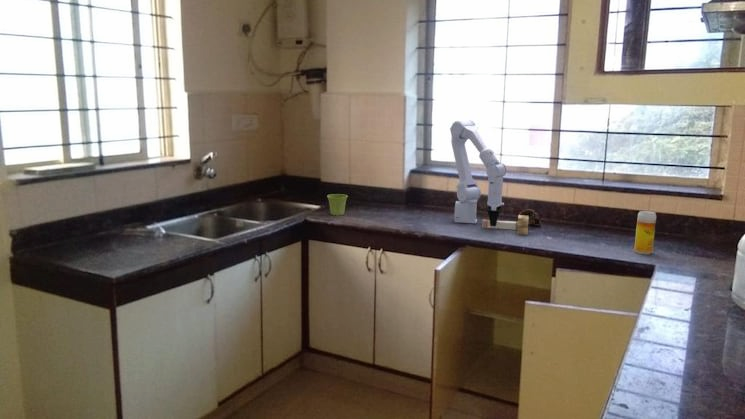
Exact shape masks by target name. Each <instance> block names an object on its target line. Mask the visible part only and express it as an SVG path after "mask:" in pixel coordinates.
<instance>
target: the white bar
mask: <svg viewBox="0 0 745 419" xmlns="http://www.w3.org/2000/svg"><path fill="white" fill-rule="evenodd" d="M481 227H482V228H484V229H485V228H487V229H498V228H499V230H501V229H502V230H514V231H515V230H516V231H517V229H518V221H510V220H497V223H496V226H490V219H482V224H481Z"/></svg>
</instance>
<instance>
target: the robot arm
mask: <svg viewBox="0 0 745 419" xmlns="http://www.w3.org/2000/svg"><path fill="white" fill-rule="evenodd" d="M449 131H450V135H451V140H450V141H451V142H450V143H451V146H452V152H453V155H454V156H453V158H454V161H455V165H456V166H455V167H456V170H457V174H458V179H459V182H458V184H457V185H456V196H457V200H456V201H455V205H454V214H453V217H454V223H460V224H461V223H464V224H465V223H466V224H477V222H478V219H477V204H478V203H477V202H478V200H479V199H480V197H481V195H482V191H481V189H480V187H479V185H478V182H477V181H476V180H475V179H474V178H473V175H472V171H471V166H470V162H469V161H470V160H469V157H468V153H467V148H466V142H467V140H470V142H471V143H472V144H473V145H474V147H475V149H476V150H477V151H478V152H479V154H478V155H479V156H478V157H479V159H480V161H481V162H482V164H483V165H484V167H485V168H486V169H487V170H485V172H486V175H487V181H488V190H487V192H488V193H487V202H486V205H487V207H488V208H487V209H486V211H487V215H488V217H489V219H488V220H490V226H496V223H497V221H498V218H499V215H500V214H501V212H502V210H501V208H502V206H505V203H504V202H502V199H503V183H504V176H506V174H507V168H506V164H505V163H503V162H500V161H499V159H498V158H497V157H496V155H495V154H494V153H495V152H494V151H493V150H492V149H491V148H487V146H486V144H485V142H484V140H483V139H482V137H481V135H480V133H479V132H478V126H477V125H476V123H475V122H474V121H473V120H465V121H463V120H462V121H461V120H456V121H454V122H452V124H451V127H450V128H449Z"/></svg>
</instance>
